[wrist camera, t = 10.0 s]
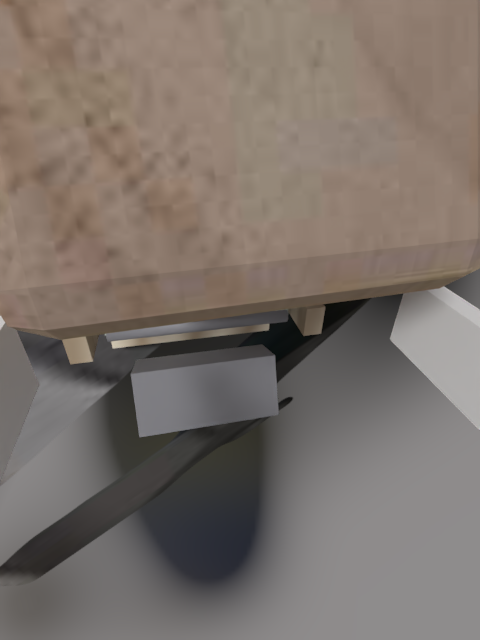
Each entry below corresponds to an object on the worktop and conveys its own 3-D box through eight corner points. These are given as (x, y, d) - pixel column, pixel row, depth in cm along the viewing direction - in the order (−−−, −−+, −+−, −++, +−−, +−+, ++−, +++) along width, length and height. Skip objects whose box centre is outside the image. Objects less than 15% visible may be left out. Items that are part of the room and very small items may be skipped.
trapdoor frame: (114, 338, 42) (97, 443, 29) (93, 251, 36) (60, 335, 23) (264, 321, 45) (308, 409, 32) (269, 239, 39) (325, 307, 26)
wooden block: (250, 139, 25) (531, -351, 5) (263, 276, 26) (520, 284, 7) (106, 145, 23) (-247, -545, 4) (129, 292, 25) (-31, 361, 5)
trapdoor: (125, 418, 29) (118, 440, 26) (89, 160, 26) (75, 140, 22) (281, 394, 32) (296, 411, 28) (266, 156, 29) (281, 138, 25)
